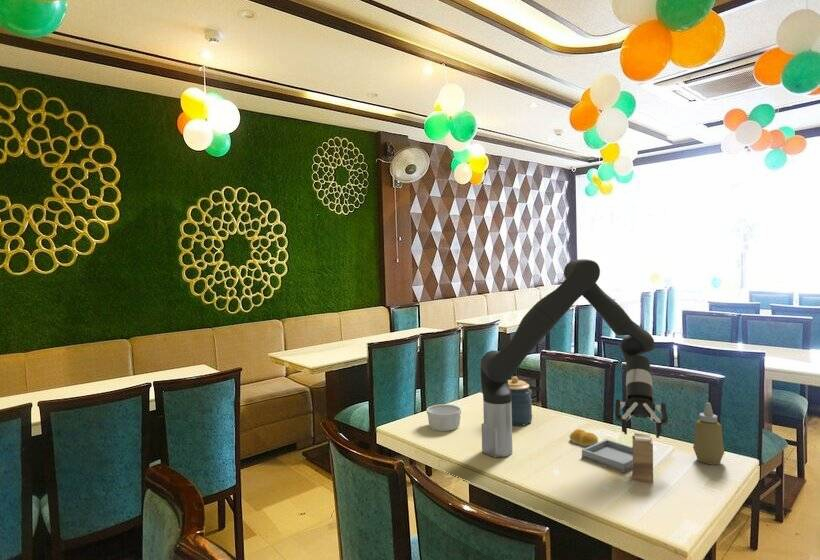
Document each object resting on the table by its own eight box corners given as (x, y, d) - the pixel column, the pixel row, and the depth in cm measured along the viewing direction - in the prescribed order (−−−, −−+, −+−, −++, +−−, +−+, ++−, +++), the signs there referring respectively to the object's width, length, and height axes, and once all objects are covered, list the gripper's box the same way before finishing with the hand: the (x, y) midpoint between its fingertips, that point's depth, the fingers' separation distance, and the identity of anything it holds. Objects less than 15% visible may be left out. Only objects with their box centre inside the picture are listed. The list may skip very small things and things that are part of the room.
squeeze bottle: (721, 458, 146) (721, 401, 145) (726, 468, 138) (726, 408, 138) (691, 454, 149) (691, 398, 148) (695, 464, 142) (694, 405, 141)
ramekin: (420, 429, 178) (420, 411, 178) (437, 419, 189) (436, 402, 189) (451, 435, 171) (451, 416, 171) (467, 424, 182) (466, 406, 182)
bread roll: (590, 449, 155) (590, 437, 155) (566, 442, 162) (566, 430, 162) (603, 442, 161) (603, 431, 161) (579, 435, 168) (578, 424, 167)
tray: (624, 472, 137) (624, 464, 137) (582, 457, 149) (581, 449, 149) (648, 459, 146) (648, 451, 146) (606, 446, 157) (606, 439, 157)
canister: (523, 428, 176) (522, 382, 175) (492, 422, 184) (492, 377, 184) (537, 419, 186) (537, 375, 186) (508, 413, 194) (507, 371, 194)
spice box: (653, 482, 131) (652, 440, 130) (633, 479, 133) (633, 438, 132) (651, 475, 135) (651, 434, 135) (632, 472, 137) (632, 432, 137)
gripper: (614, 378, 149) (615, 426, 139) (665, 382, 143) (669, 432, 133) (614, 391, 154) (615, 437, 144) (663, 394, 148) (668, 443, 138)
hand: (641, 434), depth 138 cm, fingers open, 8 cm apart
